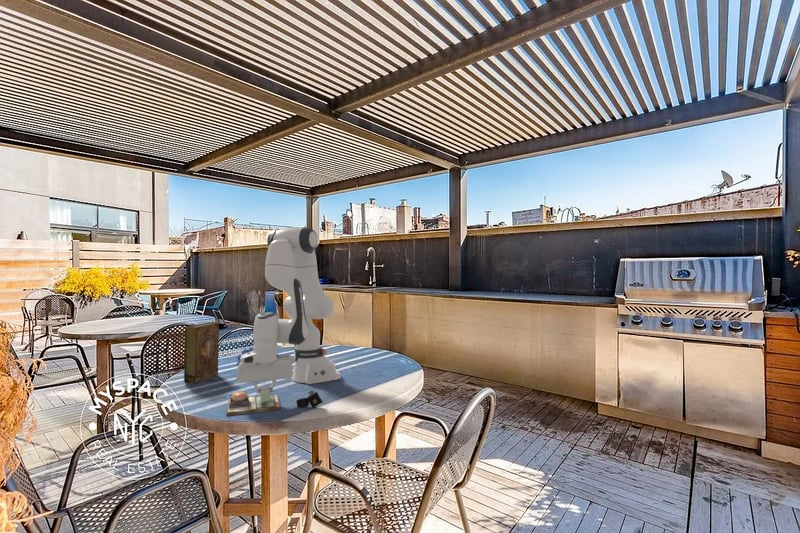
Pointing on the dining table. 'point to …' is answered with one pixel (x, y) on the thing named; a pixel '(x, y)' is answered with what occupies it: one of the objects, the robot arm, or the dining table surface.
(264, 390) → the marker
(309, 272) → the robot arm
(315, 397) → the black angular piece
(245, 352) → the grapes
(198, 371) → the book
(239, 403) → the picture board
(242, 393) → the button
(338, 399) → the dining table surface
